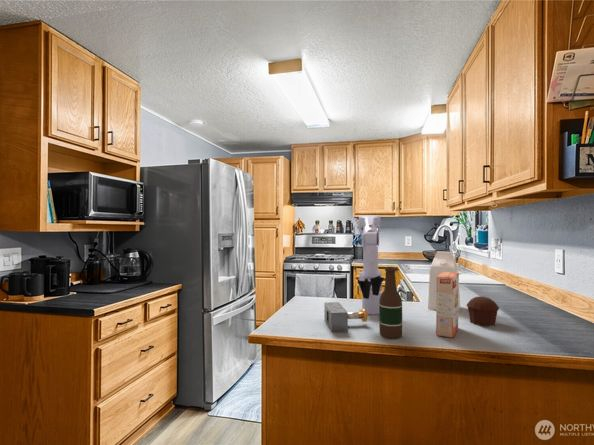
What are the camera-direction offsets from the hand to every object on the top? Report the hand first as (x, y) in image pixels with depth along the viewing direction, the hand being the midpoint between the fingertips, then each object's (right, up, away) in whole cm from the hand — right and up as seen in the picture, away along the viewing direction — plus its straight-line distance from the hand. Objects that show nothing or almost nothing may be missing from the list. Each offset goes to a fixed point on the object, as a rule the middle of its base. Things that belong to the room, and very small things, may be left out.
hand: (370, 296), depth 136 cm
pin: (-8, -9, -2) cm, 12 cm away
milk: (+39, -10, +23) cm, 46 cm away
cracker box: (+26, -11, -11) cm, 30 cm away
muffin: (+44, -10, -1) cm, 45 cm away
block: (-14, -11, -2) cm, 18 cm away
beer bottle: (+4, -11, -15) cm, 19 cm away
